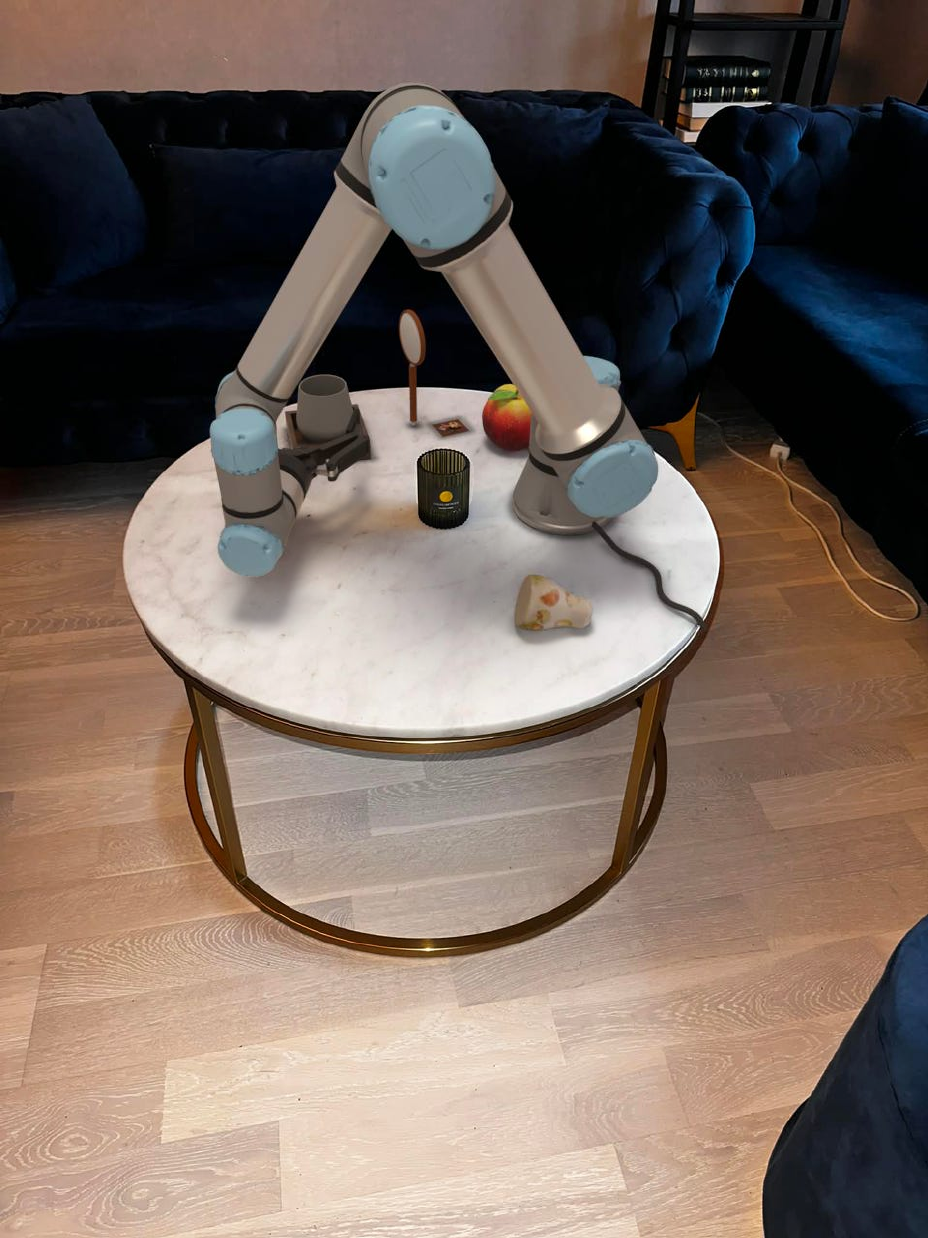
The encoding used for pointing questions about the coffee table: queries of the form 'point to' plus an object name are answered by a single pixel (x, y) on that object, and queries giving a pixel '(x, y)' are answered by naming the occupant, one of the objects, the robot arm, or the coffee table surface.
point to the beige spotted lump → (549, 606)
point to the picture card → (450, 427)
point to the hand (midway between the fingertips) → (313, 413)
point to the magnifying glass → (412, 353)
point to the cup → (323, 408)
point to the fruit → (507, 419)
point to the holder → (299, 440)
